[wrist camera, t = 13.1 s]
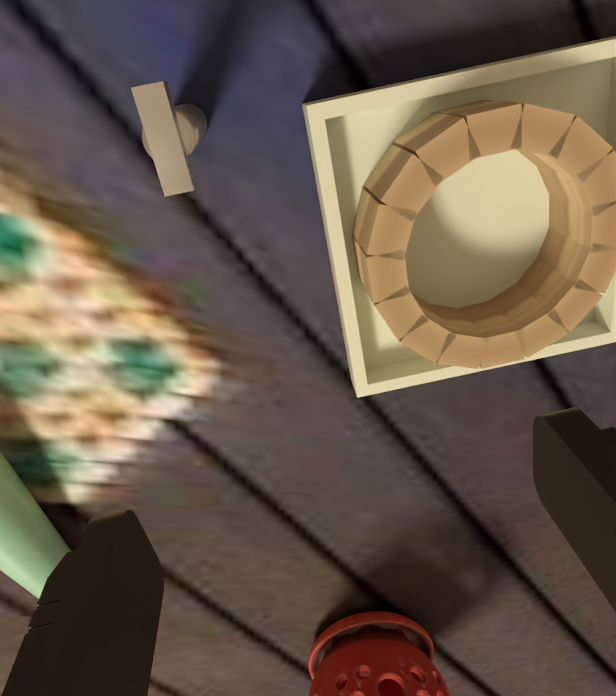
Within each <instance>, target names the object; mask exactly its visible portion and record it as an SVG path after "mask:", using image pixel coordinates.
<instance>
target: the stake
mask: <svg viewBox="0 0 616 696" xmlns="http://www.w3.org/2000/svg"><path fill="white" fill-rule="evenodd" d="M131 90H132V93H133V96H134V99H135V102H136V106H137V109H138V112H139V115H140V118H141V122H142V125H143V130H142V141H143V145H144V147H145V149H146V151H147V152H148V154H149V155H150V156H151V157H152V158H153V160H154V163H155V166H156V170H157V173H158V176H159V179H160V182H161V186H162V189H163V192H164V195H165V196H170V195H174V194H179V193H184V192H188V191H193V190H194V189H195V187H196V183H195V180H194V176H193V172H192V169H191V165H190V162H189V158H188V156H189V154H190V153H191V152H192V151H193V149H194V148H195V147H196V146H197V145H198V143H199V142H200V141H201V140H202V138H203V137H204V136H205V134H206V131H207V120H206V117H205V115H204V113H203V112H202V111H201V110H200V109H199V108H198V107H197V106H195V105H193V104H188V103H185V104H181V105H178V106H175V107H174V105H173V102H172V98H171V95H170V91H169V87H168V84H167V81H161V82H157V83H152V84H148V85H143V86H138V87H134V88H131Z"/></svg>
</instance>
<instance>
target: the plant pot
mask: <svg viewBox="0 0 616 696" xmlns="http://www.w3.org/2000/svg"><path fill="white" fill-rule="evenodd" d="M433 656H434V647H433V642H432V640H431V638H430V636H429V635H428V633H427V632H426V631H425V630H424V629H423V628H422V627H421V626H420V625H419V624H418V623H416V622H415V621H413V620H411V619H410V618H407V617H405V616H402V615H399V614H396V613H391V612H384V611H371V612H363V613H358V614H354V615H351V616H348V617H345V618H343V619H341V620H339V621H337V622H336V623H334V624H332V625H331V626H329V627H328V628H327V629H326V630H325V631H324V632H323V633H322V634H321V635H320V636H319V637H318V638H317V640H316V641H315V643H314V644H313V646H312V649H311V651H310V654H309V660H308V667H309V672H310V675H311V677H312V679H313V682H312V685H311V688H310V692H309V696H450V694H449V691H448V688H447V686H446V683H445V682H444V680H443V678H442V676H441V674H440V673H439V671H438V670H437V668H436V667H435V666H434V664H433V663H432V660H433Z"/></svg>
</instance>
